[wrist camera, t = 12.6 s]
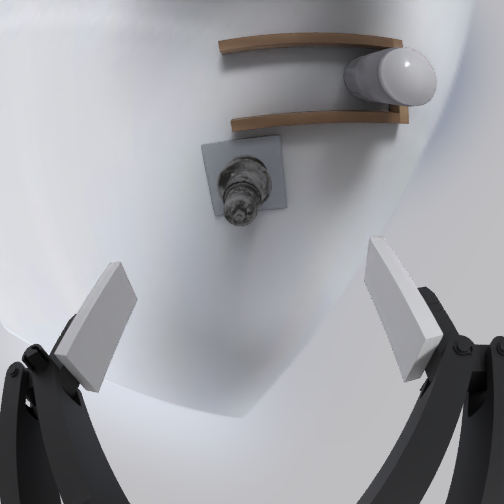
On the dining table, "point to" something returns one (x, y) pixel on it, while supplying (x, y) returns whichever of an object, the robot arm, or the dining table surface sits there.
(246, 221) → the grey chess piece
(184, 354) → the dining table surface
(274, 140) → the coaster
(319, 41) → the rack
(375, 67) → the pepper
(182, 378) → the dining table surface
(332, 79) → the dining table surface
